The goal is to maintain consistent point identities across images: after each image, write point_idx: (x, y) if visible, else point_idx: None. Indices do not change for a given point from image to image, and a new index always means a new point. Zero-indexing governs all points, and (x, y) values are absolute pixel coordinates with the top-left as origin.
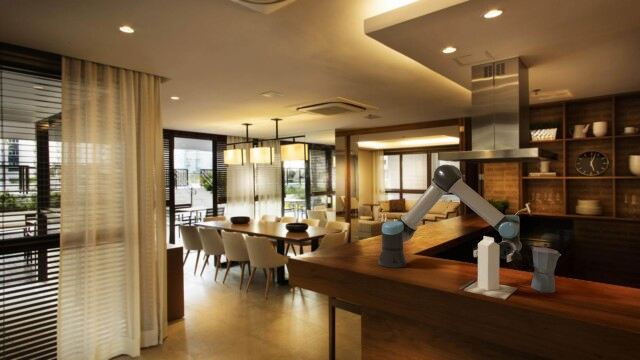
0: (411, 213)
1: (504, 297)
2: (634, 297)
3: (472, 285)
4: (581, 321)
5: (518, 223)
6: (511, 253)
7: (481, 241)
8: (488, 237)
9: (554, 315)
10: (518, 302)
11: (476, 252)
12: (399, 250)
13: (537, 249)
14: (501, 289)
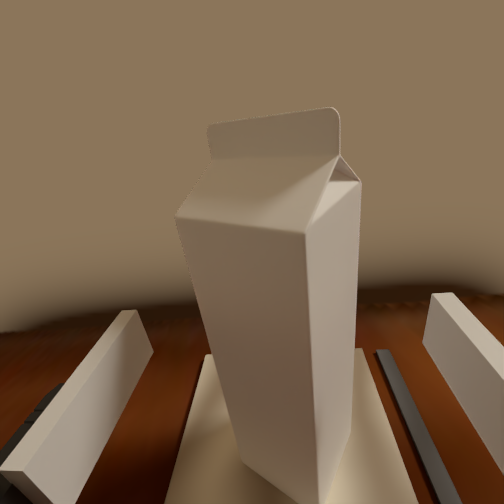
0: None
1: (208, 358)
2: None
3: (381, 432)
4: (41, 332)
5: None
6: (31, 448)
7: (341, 169)
8: (264, 122)
9: (92, 329)
10: (166, 361)
11: (448, 335)
12: None
13: None
14: (230, 473)
